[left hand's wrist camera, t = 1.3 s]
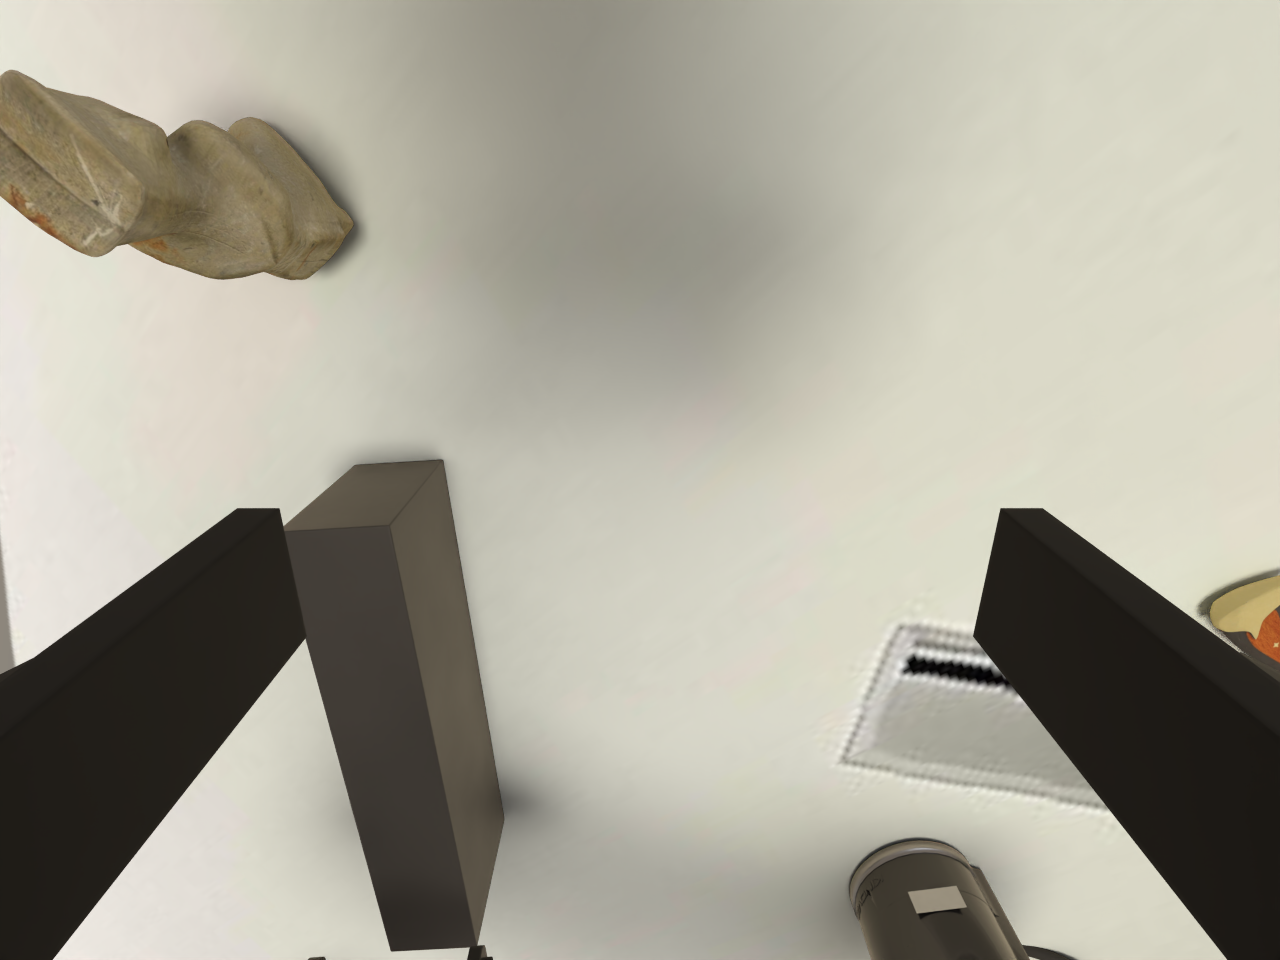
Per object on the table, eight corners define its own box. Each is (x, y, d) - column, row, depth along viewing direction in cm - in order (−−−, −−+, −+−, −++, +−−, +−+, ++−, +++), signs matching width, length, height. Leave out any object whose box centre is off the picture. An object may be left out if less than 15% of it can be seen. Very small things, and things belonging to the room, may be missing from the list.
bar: (354, 464, 40) (275, 532, 31) (443, 459, 40) (389, 525, 31) (433, 823, 49) (390, 952, 41) (504, 819, 49) (477, 947, 41)
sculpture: (279, 100, 33) (16, 6, 19) (386, 224, 35) (220, 223, 21) (201, 181, 34) (-101, 148, 20) (308, 296, 36) (103, 340, 22)
